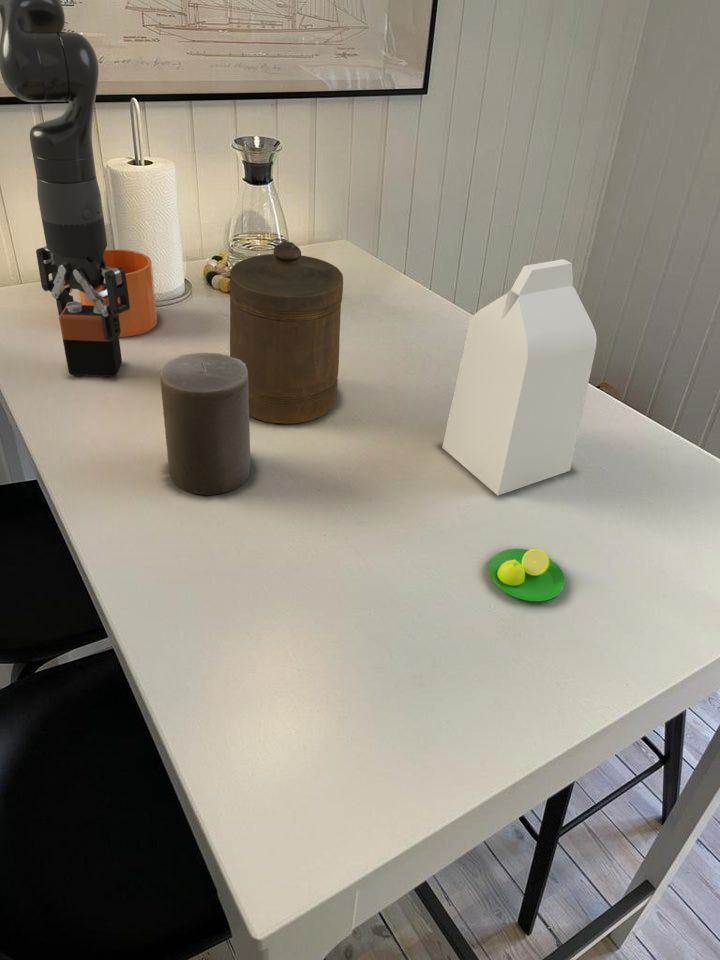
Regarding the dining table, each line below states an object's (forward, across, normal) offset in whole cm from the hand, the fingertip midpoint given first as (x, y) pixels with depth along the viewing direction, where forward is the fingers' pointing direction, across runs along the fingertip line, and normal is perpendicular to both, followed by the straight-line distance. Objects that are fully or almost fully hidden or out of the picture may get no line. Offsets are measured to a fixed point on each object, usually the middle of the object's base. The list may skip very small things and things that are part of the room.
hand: (90, 330), depth 105 cm
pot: (+6, +9, -14) cm, 18 cm away
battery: (+6, 0, 0) cm, 6 cm away
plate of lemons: (+6, -68, +6) cm, 69 cm away
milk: (+6, -58, -14) cm, 60 cm away
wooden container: (+6, -26, -10) cm, 29 cm away
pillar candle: (+6, -29, +10) cm, 32 cm away
